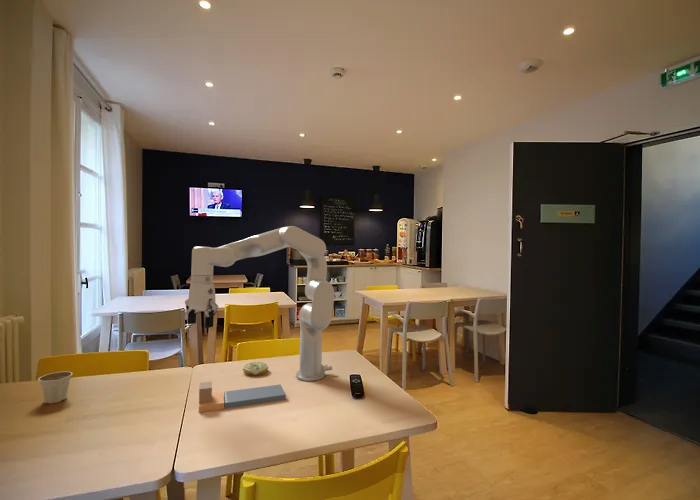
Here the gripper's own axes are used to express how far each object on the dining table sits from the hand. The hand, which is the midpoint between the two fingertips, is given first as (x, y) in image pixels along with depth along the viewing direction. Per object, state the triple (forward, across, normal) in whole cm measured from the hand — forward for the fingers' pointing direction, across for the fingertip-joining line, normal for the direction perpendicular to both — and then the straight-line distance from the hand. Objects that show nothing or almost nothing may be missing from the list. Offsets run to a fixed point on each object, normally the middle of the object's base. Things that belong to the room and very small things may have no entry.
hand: (200, 325), depth 130 cm
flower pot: (+28, +39, +28) cm, 56 cm away
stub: (+26, -10, +2) cm, 28 cm away
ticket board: (+26, -19, -10) cm, 34 cm away
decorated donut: (+26, -1, -29) cm, 39 cm away
